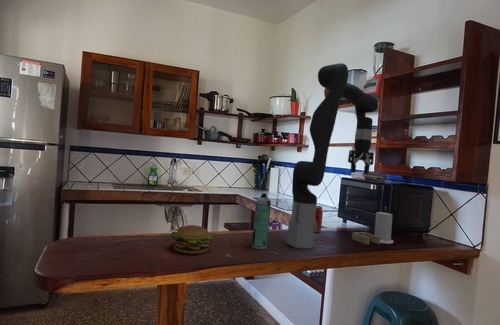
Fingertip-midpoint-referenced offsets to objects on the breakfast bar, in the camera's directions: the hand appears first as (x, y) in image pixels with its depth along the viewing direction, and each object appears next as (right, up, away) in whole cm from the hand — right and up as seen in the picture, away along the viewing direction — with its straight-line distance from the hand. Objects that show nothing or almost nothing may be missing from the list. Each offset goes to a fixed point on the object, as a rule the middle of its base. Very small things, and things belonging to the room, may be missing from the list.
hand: (359, 172), depth 153 cm
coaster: (+8, -31, -7) cm, 33 cm away
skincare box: (+8, -31, -8) cm, 32 cm away
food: (-73, -25, -45) cm, 89 cm away
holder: (-1, -30, -12) cm, 33 cm away
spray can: (-50, -27, -35) cm, 66 cm away
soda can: (-22, -28, 0) cm, 36 cm away
